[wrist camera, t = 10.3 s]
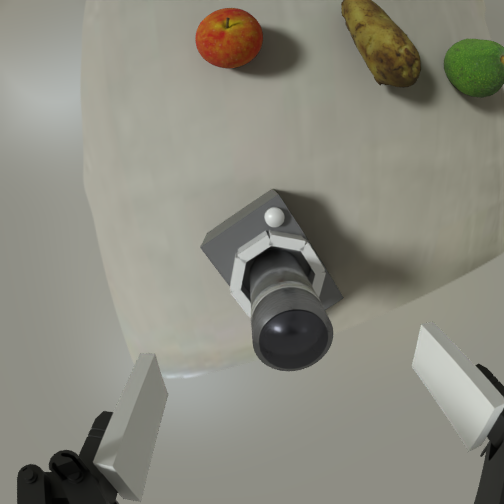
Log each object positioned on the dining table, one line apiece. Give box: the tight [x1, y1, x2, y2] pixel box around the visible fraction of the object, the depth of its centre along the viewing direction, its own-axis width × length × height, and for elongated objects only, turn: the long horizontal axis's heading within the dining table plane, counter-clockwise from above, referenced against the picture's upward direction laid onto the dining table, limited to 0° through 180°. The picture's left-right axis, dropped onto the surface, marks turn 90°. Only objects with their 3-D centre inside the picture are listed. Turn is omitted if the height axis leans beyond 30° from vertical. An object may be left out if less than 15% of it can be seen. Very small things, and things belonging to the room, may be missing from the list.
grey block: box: [200, 189, 343, 317], centre depth 32 cm, size 13×9×8 cm
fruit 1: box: [196, 8, 263, 68], centre depth 25 cm, size 7×7×8 cm
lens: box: [250, 249, 333, 371], centre depth 24 cm, size 5×5×12 cm
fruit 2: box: [444, 39, 504, 97], centre depth 24 cm, size 8×8×12 cm
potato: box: [341, 0, 421, 87], centre depth 25 cm, size 8×13×8 cm, turn 179°
